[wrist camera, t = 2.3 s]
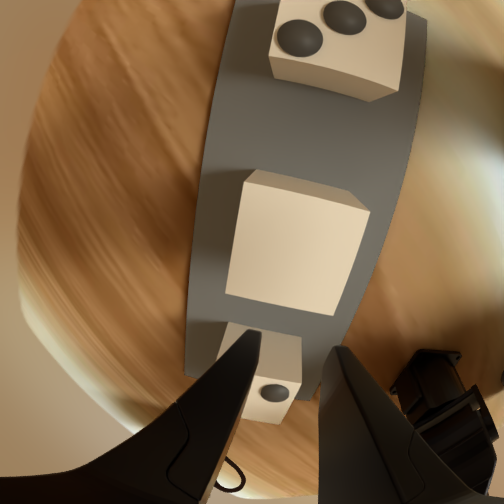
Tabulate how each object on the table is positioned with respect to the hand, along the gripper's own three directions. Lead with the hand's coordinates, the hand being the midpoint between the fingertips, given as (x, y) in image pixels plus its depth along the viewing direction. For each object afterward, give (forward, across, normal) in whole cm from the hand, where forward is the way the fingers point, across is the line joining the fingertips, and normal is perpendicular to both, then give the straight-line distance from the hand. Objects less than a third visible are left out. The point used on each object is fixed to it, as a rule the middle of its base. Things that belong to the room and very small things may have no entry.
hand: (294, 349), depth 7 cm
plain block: (+12, 0, 0) cm, 12 cm away
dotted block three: (+12, 0, -12) cm, 17 cm away
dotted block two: (+12, 0, +12) cm, 17 cm away
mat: (+12, 0, 0) cm, 12 cm away
